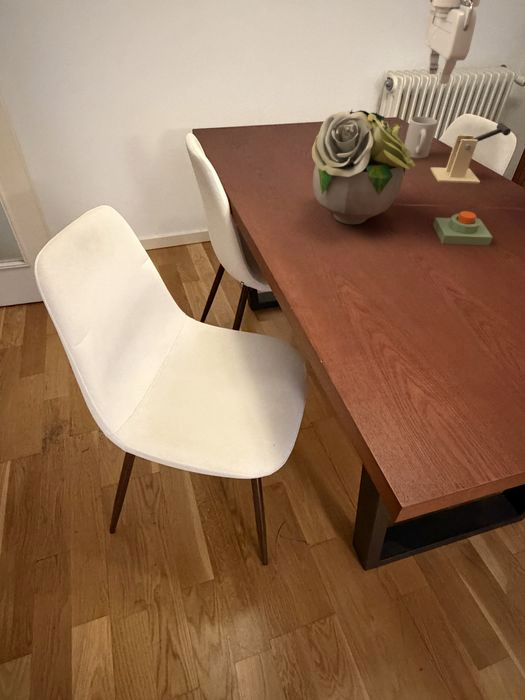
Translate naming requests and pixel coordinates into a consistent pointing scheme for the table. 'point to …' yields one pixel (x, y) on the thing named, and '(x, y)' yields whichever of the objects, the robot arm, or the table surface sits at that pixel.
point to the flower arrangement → (358, 165)
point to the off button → (466, 217)
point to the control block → (461, 231)
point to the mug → (420, 136)
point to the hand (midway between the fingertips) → (437, 78)
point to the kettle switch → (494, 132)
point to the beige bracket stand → (458, 162)
